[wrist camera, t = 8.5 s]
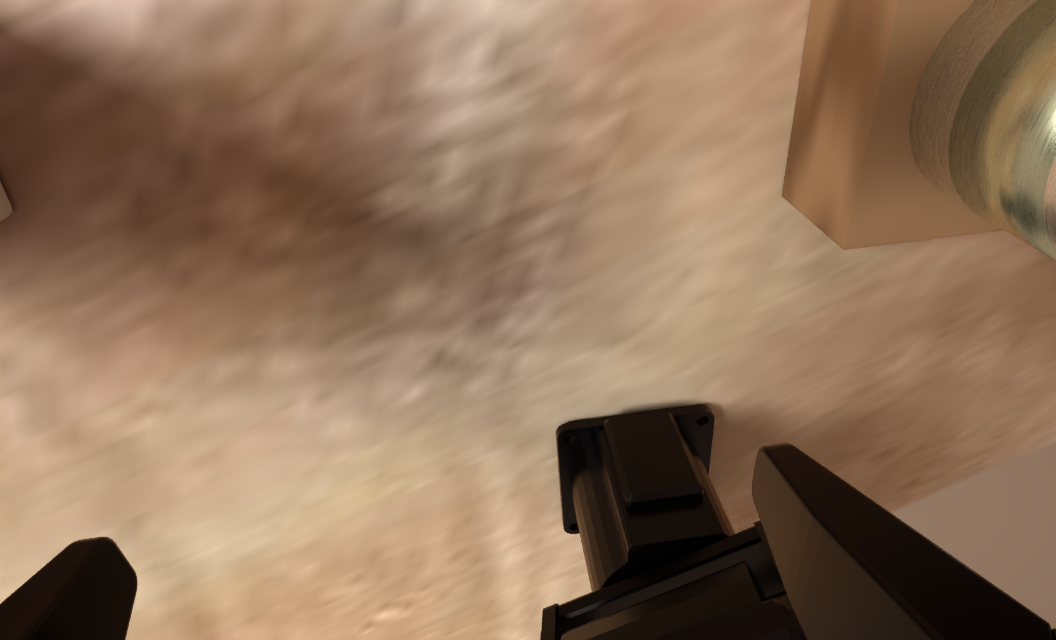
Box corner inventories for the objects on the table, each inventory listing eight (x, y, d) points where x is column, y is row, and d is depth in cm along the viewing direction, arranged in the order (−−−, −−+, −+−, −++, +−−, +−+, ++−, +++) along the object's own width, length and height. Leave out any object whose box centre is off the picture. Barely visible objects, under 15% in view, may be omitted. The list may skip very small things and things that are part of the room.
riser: (1009, 168, 22) (1112, 216, 18) (781, 196, 21) (843, 250, 18) (1110, -115, 17) (1270, -120, 14) (824, -86, 17) (917, -85, 13)
